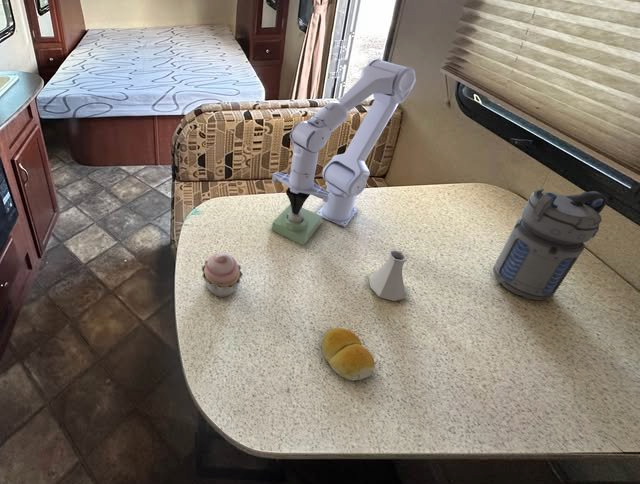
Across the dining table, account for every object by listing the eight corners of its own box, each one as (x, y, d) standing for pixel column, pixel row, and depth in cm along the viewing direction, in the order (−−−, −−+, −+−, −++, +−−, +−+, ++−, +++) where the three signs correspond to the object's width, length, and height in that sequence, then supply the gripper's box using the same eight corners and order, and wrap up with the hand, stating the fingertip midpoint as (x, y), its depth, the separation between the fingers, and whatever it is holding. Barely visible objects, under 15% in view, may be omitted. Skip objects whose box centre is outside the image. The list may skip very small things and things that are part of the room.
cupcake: (198, 299, 82) (198, 267, 78) (203, 267, 90) (204, 236, 86) (240, 307, 80) (243, 274, 75) (242, 273, 88) (245, 242, 83)
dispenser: (290, 210, 108) (292, 197, 106) (320, 223, 102) (323, 210, 100) (271, 229, 101) (273, 217, 99) (303, 245, 95) (305, 232, 93)
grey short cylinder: (291, 212, 101) (292, 206, 100) (304, 218, 98) (305, 212, 97) (285, 219, 98) (286, 213, 97) (298, 225, 96) (299, 219, 95)
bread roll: (347, 330, 74) (351, 317, 73) (380, 375, 67) (385, 361, 65) (310, 340, 73) (313, 327, 71) (340, 387, 65) (344, 373, 63)
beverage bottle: (575, 299, 78) (642, 205, 67) (517, 306, 77) (574, 212, 66) (529, 263, 87) (580, 174, 76) (476, 268, 86) (520, 180, 75)
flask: (396, 276, 86) (407, 243, 81) (411, 302, 79) (425, 269, 75) (363, 274, 86) (373, 242, 82) (376, 301, 80) (387, 268, 75)
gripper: (268, 165, 93) (263, 207, 99) (326, 186, 84) (317, 232, 90) (281, 154, 97) (276, 195, 104) (338, 173, 88) (328, 217, 95)
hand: (296, 211), depth 97 cm, fingers closed
